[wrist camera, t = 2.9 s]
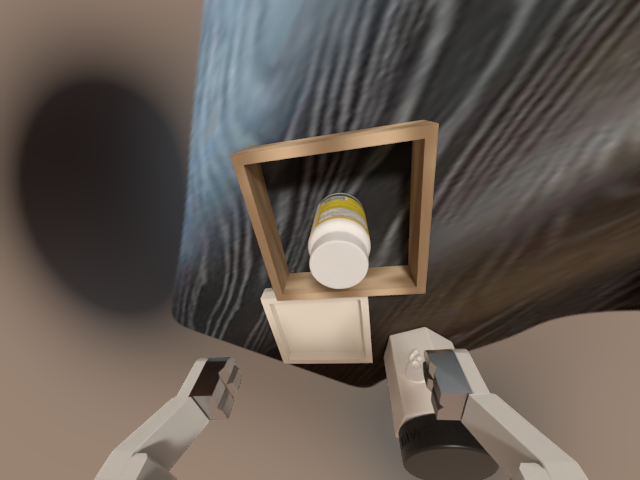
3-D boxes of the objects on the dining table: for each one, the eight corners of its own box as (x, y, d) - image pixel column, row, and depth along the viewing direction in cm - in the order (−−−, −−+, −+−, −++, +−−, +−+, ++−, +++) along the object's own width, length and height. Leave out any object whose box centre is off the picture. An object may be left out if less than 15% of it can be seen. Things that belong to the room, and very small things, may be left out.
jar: (443, 319, 29) (497, 441, 19) (458, 359, 32) (512, 481, 22) (372, 337, 32) (385, 453, 21) (393, 372, 35) (413, 486, 25)
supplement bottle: (344, 244, 25) (344, 304, 18) (306, 220, 24) (289, 272, 17) (375, 210, 23) (389, 261, 15) (334, 181, 22) (329, 222, 14)
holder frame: (423, 119, 19) (438, 123, 16) (415, 270, 26) (425, 293, 23) (246, 147, 21) (230, 155, 18) (284, 279, 28) (277, 301, 25)
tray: (366, 282, 27) (367, 293, 25) (371, 350, 33) (372, 363, 31) (265, 288, 29) (260, 299, 27) (286, 352, 35) (284, 363, 33)
